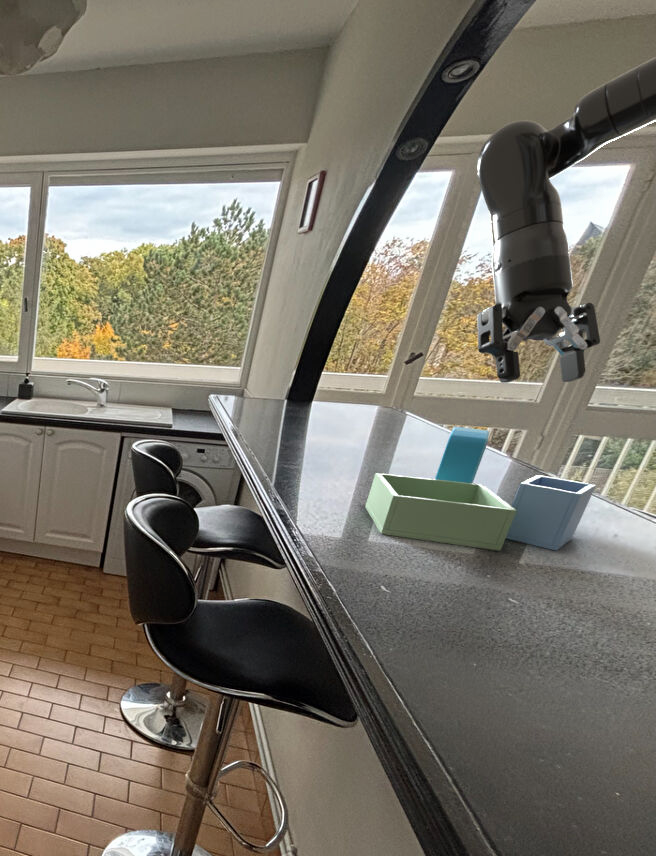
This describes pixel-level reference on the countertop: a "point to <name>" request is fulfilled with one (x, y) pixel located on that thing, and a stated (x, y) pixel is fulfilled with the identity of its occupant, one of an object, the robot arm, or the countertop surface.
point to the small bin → (548, 511)
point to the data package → (462, 455)
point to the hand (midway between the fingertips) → (541, 380)
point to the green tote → (439, 511)
